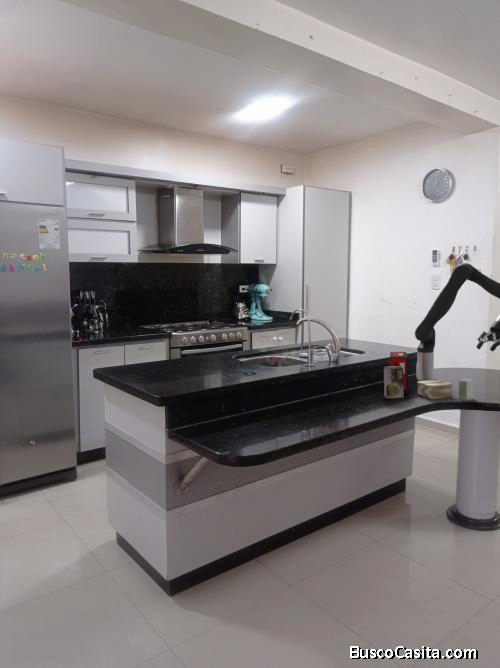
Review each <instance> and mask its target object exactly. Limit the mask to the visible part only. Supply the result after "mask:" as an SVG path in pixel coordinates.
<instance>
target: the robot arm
mask: <svg viewBox="0 0 500 668" xmlns="http://www.w3.org/2000/svg"><path fill="white" fill-rule="evenodd" d="M467 281H470V282H472V283H475V284H476V285H478V286H479V287H481V288H482V289H483V290H485V291H486V292H487V293H488V294H490V295H492V296H494V297H495V298H497V299H499V300H500V282H498V281H496V280H494V279H493V278H490V277H489V276H488V275H486V274H484V273H482V272H481V271H480V270H478V269H477V268H476V267H474V266H473V265H472V264H471V263H467V262H463V263H460V264H458V265H456V266H455V268H453V271H452V273H451V275H450V277H449V279H448V282H447V283H446V285H445V286H444V287H443V288H442V290H441V291H440V293H439V294H438V296H437V297H436V299H435V301H434V302H433V304H432V306H430V309H429V310H428V312H427V313H426V316H425V317H424V318H423V320H422V321H421V322H420V324H419V325H418V326H417V327H416V328H415V331H414V337H415V339H416V340H417V341H419V342H420V343H419V344H418V346H417V348H416V349H417V351H416V352H417V354H416V355H417V358H416V360H417V361H416V362H417V363H416V364H415V365H416V367H415V368H416V373H415V374H416V375H415V376H416V378H417V380H418V381H425V380H432V379H435V377H434V376H435V375H434V374H435V373H434V371H435V369H434V362H435V361H434V359H435V357H434V356H435V354H434V352H435V351H434V349H435V346H436V330H435V326H436V325H437V323H438V322H439V321H440V320H442V318H444V317H445V316H446V315H447V313H448V312H450V309H451V308H452V306H453V304H454V303H455V300H456V298H457V295H458V292H459V291H460V289H461V288H462V286H463V285H464V284H465V282H467ZM477 341H478V343H477V344H476V348H477V349H478V350H481V348H482V347H483V345H484V344H485V343H489V342H493V343H492V345H491V346H490V348H489V351H491V352H495V350H496V349H497V347H500V315H498V316H497V317H496V319H495V320H494V322H493V323H492V325H491V326H490V327H489V331H488V332H487V331H482V332H481V334H480V335H479V336H478V338H477ZM416 378H415V379H416Z"/></svg>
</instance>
